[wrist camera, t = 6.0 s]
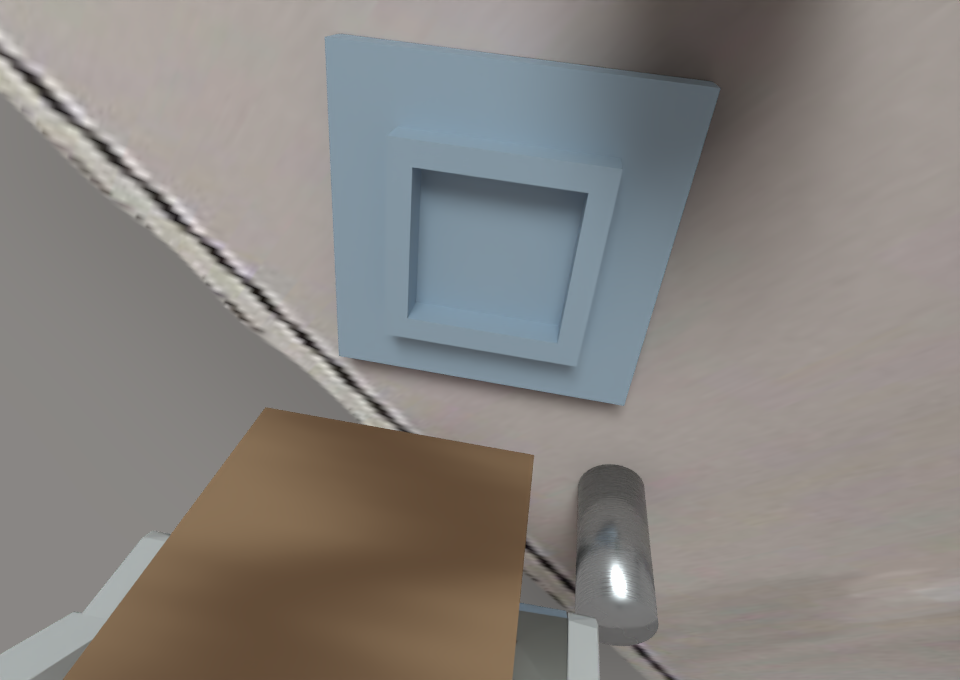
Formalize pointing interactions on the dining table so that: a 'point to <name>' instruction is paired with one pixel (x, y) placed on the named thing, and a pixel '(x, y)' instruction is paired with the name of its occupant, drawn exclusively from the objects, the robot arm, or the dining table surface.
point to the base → (504, 210)
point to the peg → (615, 556)
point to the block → (332, 564)
